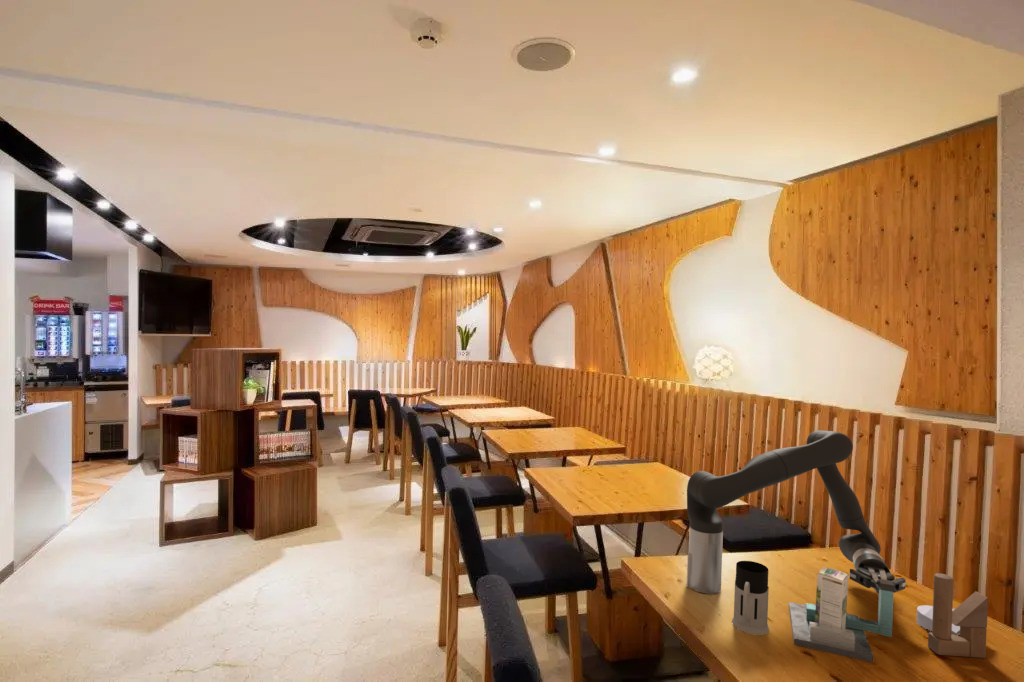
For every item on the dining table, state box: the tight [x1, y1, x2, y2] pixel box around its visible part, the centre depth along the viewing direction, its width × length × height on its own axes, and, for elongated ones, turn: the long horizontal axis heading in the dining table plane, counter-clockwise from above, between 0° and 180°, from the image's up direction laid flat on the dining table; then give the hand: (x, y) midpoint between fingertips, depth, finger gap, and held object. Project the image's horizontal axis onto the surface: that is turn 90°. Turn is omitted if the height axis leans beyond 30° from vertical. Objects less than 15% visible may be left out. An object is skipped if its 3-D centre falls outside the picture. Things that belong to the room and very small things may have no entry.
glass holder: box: [731, 560, 770, 636], centre depth 135 cm, size 9×14×15 cm, turn 148°
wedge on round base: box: [916, 605, 960, 636], centre depth 138 cm, size 9×7×13 cm
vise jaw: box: [805, 579, 895, 638], centre depth 136 cm, size 18×3×13 cm, turn 66°
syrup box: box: [815, 566, 849, 629], centre depth 133 cm, size 6×6×14 cm
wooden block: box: [927, 573, 989, 659], centre depth 128 cm, size 4×11×18 cm, turn 87°
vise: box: [788, 601, 874, 663], centre depth 135 cm, size 16×20×4 cm
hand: (884, 593), depth 134 cm, fingers closed
